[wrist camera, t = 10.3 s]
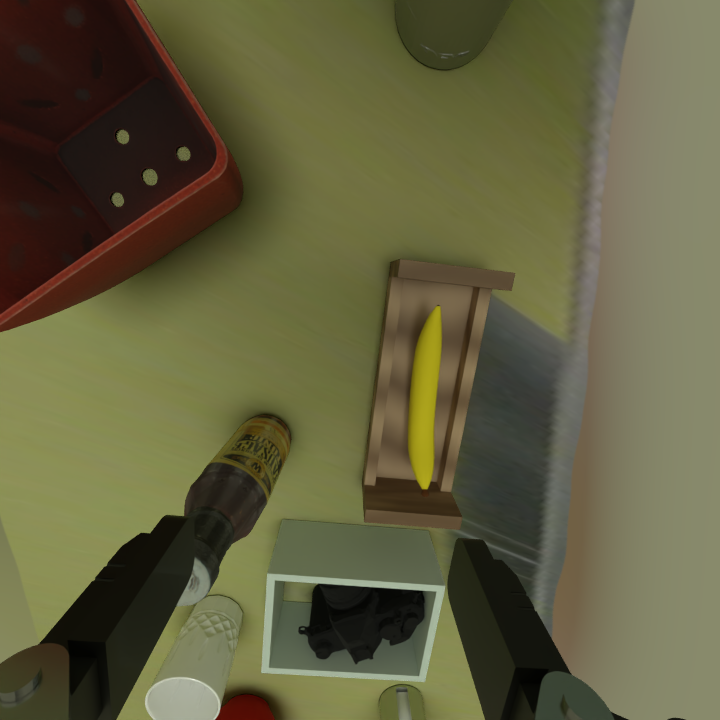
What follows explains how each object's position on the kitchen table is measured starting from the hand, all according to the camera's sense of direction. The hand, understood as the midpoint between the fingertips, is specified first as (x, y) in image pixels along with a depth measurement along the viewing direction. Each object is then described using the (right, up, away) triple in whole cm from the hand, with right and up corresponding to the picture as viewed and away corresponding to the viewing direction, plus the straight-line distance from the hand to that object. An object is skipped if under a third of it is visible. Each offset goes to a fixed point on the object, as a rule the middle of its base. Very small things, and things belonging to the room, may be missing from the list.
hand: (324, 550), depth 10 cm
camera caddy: (0, -22, +34) cm, 40 cm away
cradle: (+8, +3, +28) cm, 30 cm away
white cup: (-18, -28, +36) cm, 49 cm away
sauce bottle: (-10, -3, +30) cm, 31 cm away
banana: (+8, +3, +28) cm, 29 cm away
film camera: (0, -21, +34) cm, 40 cm away
